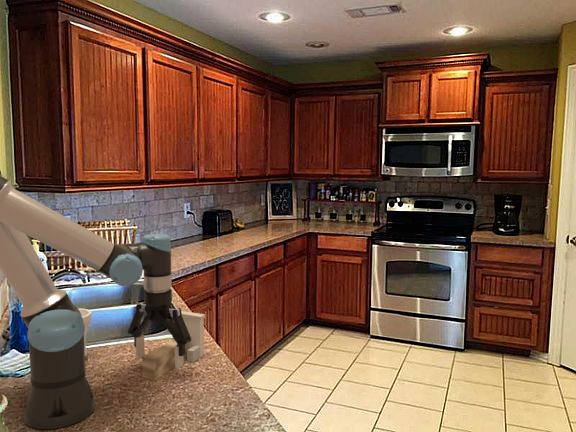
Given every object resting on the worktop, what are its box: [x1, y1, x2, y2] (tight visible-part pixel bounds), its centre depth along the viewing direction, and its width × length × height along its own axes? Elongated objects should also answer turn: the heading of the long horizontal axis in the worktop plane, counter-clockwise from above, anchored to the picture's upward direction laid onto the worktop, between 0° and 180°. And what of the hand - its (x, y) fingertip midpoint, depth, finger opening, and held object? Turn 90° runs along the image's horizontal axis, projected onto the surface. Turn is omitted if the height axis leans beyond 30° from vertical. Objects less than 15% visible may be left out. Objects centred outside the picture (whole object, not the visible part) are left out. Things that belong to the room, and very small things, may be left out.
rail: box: [141, 339, 188, 381], centre depth 139 cm, size 16×4×6 cm, turn 157°
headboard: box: [171, 310, 206, 363], centre depth 147 cm, size 6×11×13 cm, turn 67°
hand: (159, 362), depth 137 cm, fingers open, 13 cm apart
